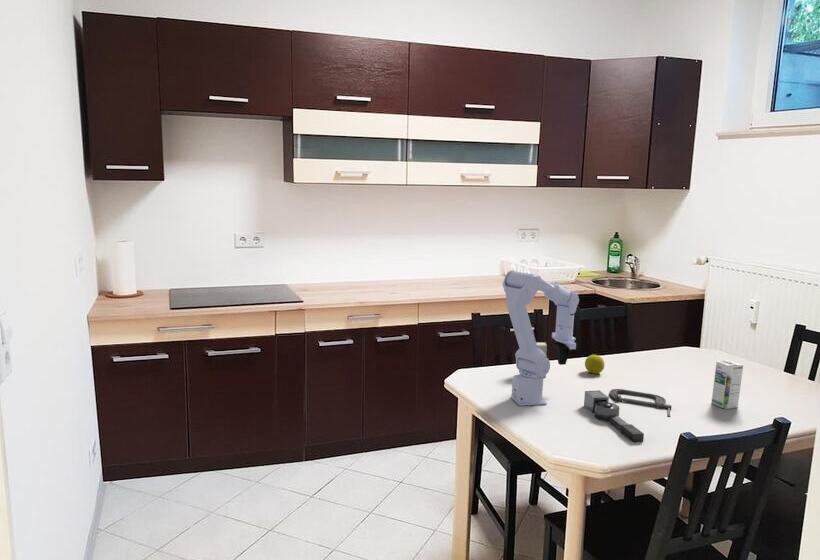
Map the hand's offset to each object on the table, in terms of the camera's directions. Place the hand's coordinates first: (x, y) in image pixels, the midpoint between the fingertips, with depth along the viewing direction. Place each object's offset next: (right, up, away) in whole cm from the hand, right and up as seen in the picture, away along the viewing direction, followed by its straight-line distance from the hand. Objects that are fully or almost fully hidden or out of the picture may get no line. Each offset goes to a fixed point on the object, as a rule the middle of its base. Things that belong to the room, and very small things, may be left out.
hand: (561, 364), depth 200 cm
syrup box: (+51, -12, -9) cm, 53 cm away
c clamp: (+24, -12, -7) cm, 27 cm away
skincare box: (-5, -7, +17) cm, 19 cm away
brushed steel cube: (+7, -12, -14) cm, 20 cm away
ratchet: (+9, -14, -25) cm, 30 cm away
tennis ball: (+17, -7, +21) cm, 28 cm away
